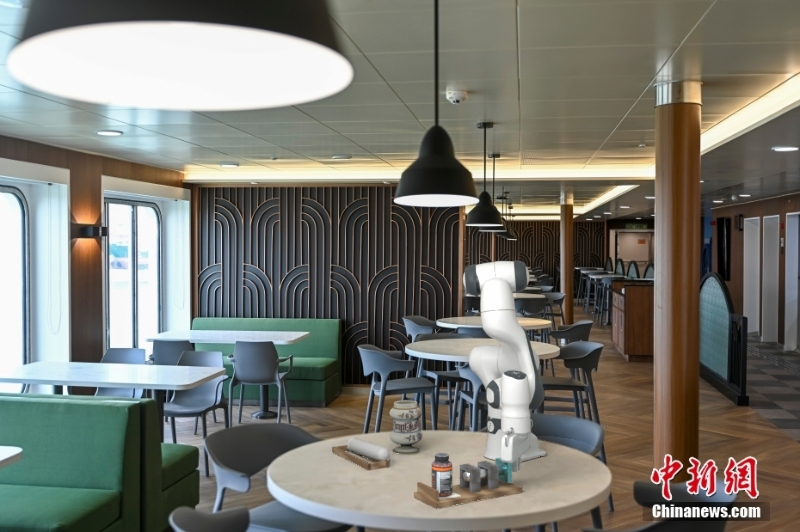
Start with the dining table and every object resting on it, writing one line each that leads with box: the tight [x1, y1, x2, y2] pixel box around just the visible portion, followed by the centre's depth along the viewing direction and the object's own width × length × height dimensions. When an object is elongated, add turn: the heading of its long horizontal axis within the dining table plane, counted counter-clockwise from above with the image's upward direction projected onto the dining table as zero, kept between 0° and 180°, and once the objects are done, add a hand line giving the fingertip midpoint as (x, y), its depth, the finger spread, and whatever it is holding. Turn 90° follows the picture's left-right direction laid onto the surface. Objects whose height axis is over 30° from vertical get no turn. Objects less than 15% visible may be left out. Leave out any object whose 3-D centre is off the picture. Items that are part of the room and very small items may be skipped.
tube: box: [346, 436, 391, 461], centre depth 257 cm, size 5×5×25 cm
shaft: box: [463, 458, 513, 483], centre depth 217 cm, size 15×6×6 cm, turn 120°
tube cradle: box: [331, 444, 390, 471], centre depth 256 cm, size 8×28×2 cm, turn 30°
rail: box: [413, 460, 523, 510], centre depth 214 cm, size 30×12×8 cm, turn 120°
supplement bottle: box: [431, 452, 453, 497], centre depth 209 cm, size 6×6×11 cm
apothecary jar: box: [389, 399, 423, 455], centre depth 267 cm, size 12×12×18 cm
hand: (515, 470), depth 223 cm, fingers closed
